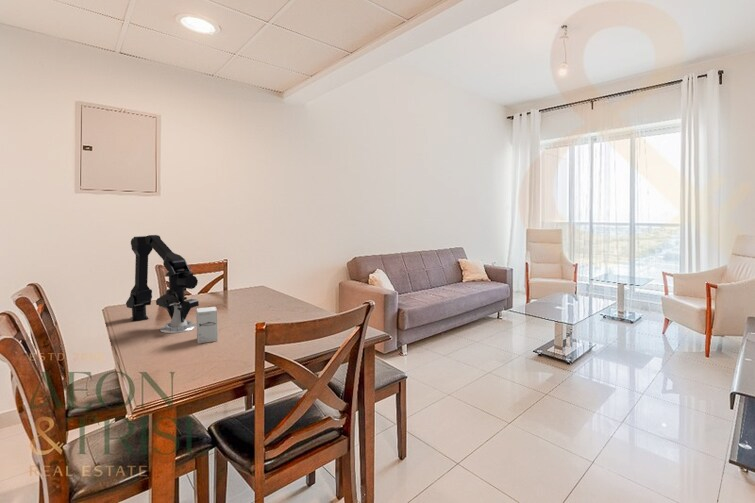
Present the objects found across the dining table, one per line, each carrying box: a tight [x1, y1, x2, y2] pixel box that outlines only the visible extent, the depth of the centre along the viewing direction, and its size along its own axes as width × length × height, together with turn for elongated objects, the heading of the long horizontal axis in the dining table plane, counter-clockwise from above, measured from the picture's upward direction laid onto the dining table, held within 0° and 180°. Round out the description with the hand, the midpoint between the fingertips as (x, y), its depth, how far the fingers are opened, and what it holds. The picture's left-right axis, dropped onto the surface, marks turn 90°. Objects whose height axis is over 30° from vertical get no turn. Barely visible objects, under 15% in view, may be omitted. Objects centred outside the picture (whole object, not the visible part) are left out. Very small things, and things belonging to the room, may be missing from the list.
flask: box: [169, 304, 188, 327], centre depth 164 cm, size 7×7×10 cm
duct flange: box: [159, 319, 197, 334], centre depth 164 cm, size 14×14×2 cm
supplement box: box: [195, 306, 219, 344], centre depth 149 cm, size 7×7×13 cm
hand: (178, 321), depth 164 cm, fingers closed on flask, 5 cm apart
